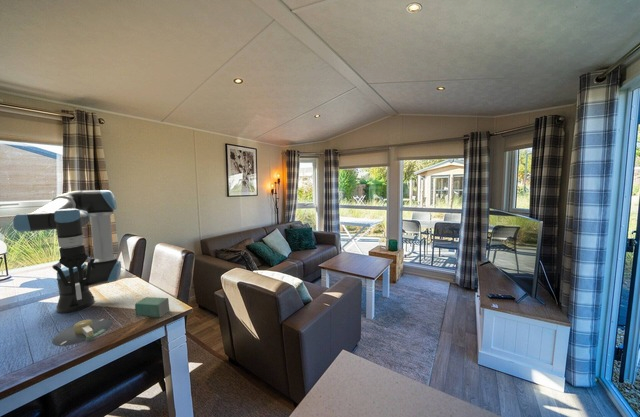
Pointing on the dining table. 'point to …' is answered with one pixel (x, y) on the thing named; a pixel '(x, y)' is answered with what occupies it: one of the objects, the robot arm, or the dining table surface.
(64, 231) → the robot arm
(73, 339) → the plate
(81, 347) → the dining table surface
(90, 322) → the round-headed handle
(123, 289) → the dining table surface
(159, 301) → the box
